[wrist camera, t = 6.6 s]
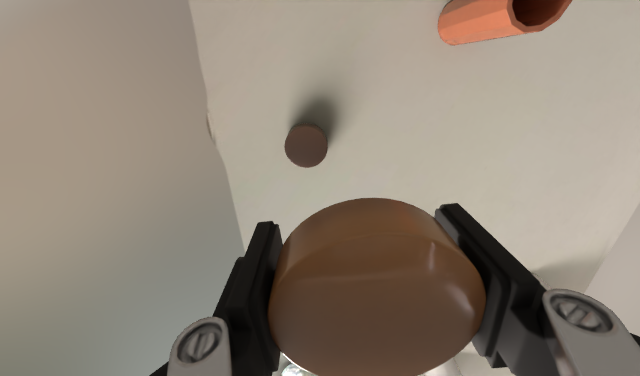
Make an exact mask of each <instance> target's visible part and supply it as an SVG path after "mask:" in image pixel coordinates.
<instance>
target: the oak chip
mask: <svg viewBox="0 0 640 376" xmlns="http://www.w3.org/2000/svg"><path fill="white" fill-rule="evenodd" d="M485 306H486V291H485V287H484V283H483V280H482V278H481V276H480V274H479V272H478V270H477V269H476V268H475V266H474V265H473V264H472V262H471V261H470V260H469V259H468V257H467V256H466V255H465V254H464V252H463V251H462V250H461V249H460V247H459V246H458V245H457V244H456V242H455V241H454V240H453V239H452V237H451V236H450V235H449V234H448V232H447V231H446V230H445V229H444V227H443V226H442V225H441V224H440V223H439V222H438V221H437V220H436V219H435V218H434V217H432V216H431V215H430V214H428V213H427V212H425V211H424V210H422V209H420V208H418V207H416V206H413V205H410V204H408V203H405V202H402V201H397V200H392V199H385V198H360V199H354V200H348V201H344V202H340V203H337V204H334V205H331V206H329V207H327V208H324V209H322V210H320V211H318V212H317V213H315V214H313V215H311V216H310V217H309V218H307V219H306V220H305V221H303V222H302V223H301V224H300V225H299V226H298V227H297V228H296V229H295V230H294V231H293V232H292V233H291V234H290V236H289V237H288V238H287V239H286V241H285V243H284V245H283V246H282V248H281V251H280V254H279V256H278V260H277V265H276V269H275V274H274V279H273V284H272V288H271V293H270V298H269V303H268V308H267V321H268V326H269V329H270V333H271V336H272V339H273V341H274V342H275V344H276V346H277V347H278V349H279V350H280V351H281V352H282V353H283V354H284V356H286V357H287V358H288V359H289V360H290V361H291V362H293V363H294V364H296V365H297V366H298V367H300V368H302V369H304V370H306V371H307V372H309V373H312V374H314V375H317V376H417V375H420V374H423V373H425V372H428V371H430V370H432V369H434V368H436V367H438V366H440V365H442V364H444V363H445V362H447V361H448V360H450V359H451V358H453V357H454V356H455V355H457V354H458V353H459V352H460V351H461V350H463V349H464V348H465V346H466V345H467V344H468V343H469V342H470V341H471V340H472V339H473V337H474V336H475V334H476V333H477V331H478V330H479V328H480V325H481V322H482V319H483V315H484V310H485Z"/></svg>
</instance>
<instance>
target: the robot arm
mask: <svg viewBox="0 0 640 376" xmlns="http://www.w3.org/2000/svg"><path fill="white" fill-rule="evenodd" d="M435 219H436V220H437V221H438V222H439V223H440V224H441V225H442V226H443V227H444V229H445V230H446V231H447V232H448V234H449V235H450V236H451V237H452V239H453V240H454V241H455V242H456V244H457V245H458V246H459V247H460V249H461V250H462V251H463V252H464V254H465V255H466V256H467V257H468V259H469V260H470V261H471V262H472V264H473V265H474V266H475V268H476V269H477V270H478V272H479V274H480V276H481V278H482V280H483V283H484V287H485V291H486V306H485V310H484V315H483V319H482V322H481V325H480V328H479V330H478V331H477V333H476V334H475V336H474V337H473V339H472V340H471V341H472V343H473V345H474V347H475V349H476V350H477V352H478V353H479V355H480V356H482V357H483V356H485V357H486V359H487V361H488V362H489V364H490V366H491V368H502V367H508V368H509V369H510V371H511V372H512V373H513V374H515V375H516V376H640V337H639V336H637V335H634V334H632V333H629V332H628V330H627V329H626V327H625V326H624V324H623V323H622V322H621V321H620V319H619V318H618V317H617V316H616V315H615V314H614V312H613V311H611V310H610V309H609V308H608V307H606V306H605V305H604V304H602V303H601V302H599V301H597V300H595V299H593V298H592V297H590V296H587V295H584V294H582V293H579V292H576V291H572V290H568V289H551V290H548V291H547V290H546V289H545V288H544V287H543V286H542V285H541V284H540V281H539V280H538V279H537V278H536V277H535V276H534V275H532V274H531V273H530V272H529V271H528V270H527V269H526V268H525V267H524V266H523V265H522V264H521V263H520V262H519V261H518V260H517V259H516V258H515V257H514V256H513V255H512V254H510V253H509V252H508V251H507V250H506V249H505V248H504V247H503V246H502V245H501V244H500V243H499V242H498V241H497V240H496V239H495V238H494V237H493V236H492V235H491V234H490V233H488V232H487V231H486V230H485V229H484V228H483V227H482V226H481V225H480V224H479V223H478V222H477V221H476V220H475V219H474V218H473V217H472V216H471V215H470V214H469V213H468V212H466V211H465V210H464V209H463V208H462V207H461V206H460V205H459V204H458V203H454V204H444V205H441V206H440V208H439V209H436V211H435ZM282 246H283V243H282V239H281V234H280V229H279V225H278V224H274V223H273V221H267V222H258V224H257V226H256V228H255V231H254V234H253V236H252V239H251V241H250V244H249V246H248V249H247V251H246V254H245V256H244V257H239V258H238V259H237V260H236V262H235V265H234V267H233V269H232V272H231V274H230V276H229V279H228V281H227V284H226V286H225V288H224V290H223V293H222V295H221V297H220V300H219V302H218V304H217V307H216V309H215V311H214V314H213V316H212V317H207V318H203V319H200V320H198V321H196V322H194V323H192V324H191V325H190V326H188V327H187V328H186V329H184V331H183V332H182V333H181V334H180V335H179V336H178V337H177V339H176V340H175V342H174V344H173V346H172V349H171V352H170V358H169V361H168V362H167V363H166V364H164V365H163V366H162V367H160V368H159V369H158V370H156V371H155V372H154V373H152V374H151V375H150V376H272V372H276V371H277V370H278V366H279V359H280V350H279V349H278V347H277V346H276V344H275V342H274V341H273V339H272V336H271V333H270V329H269V326H268V321H267V308H268V303H269V298H270V293H271V288H272V284H273V279H274V274H275V269H276V265H277V260H278V256H279V254H280V251H281V248H282Z"/></svg>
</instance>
